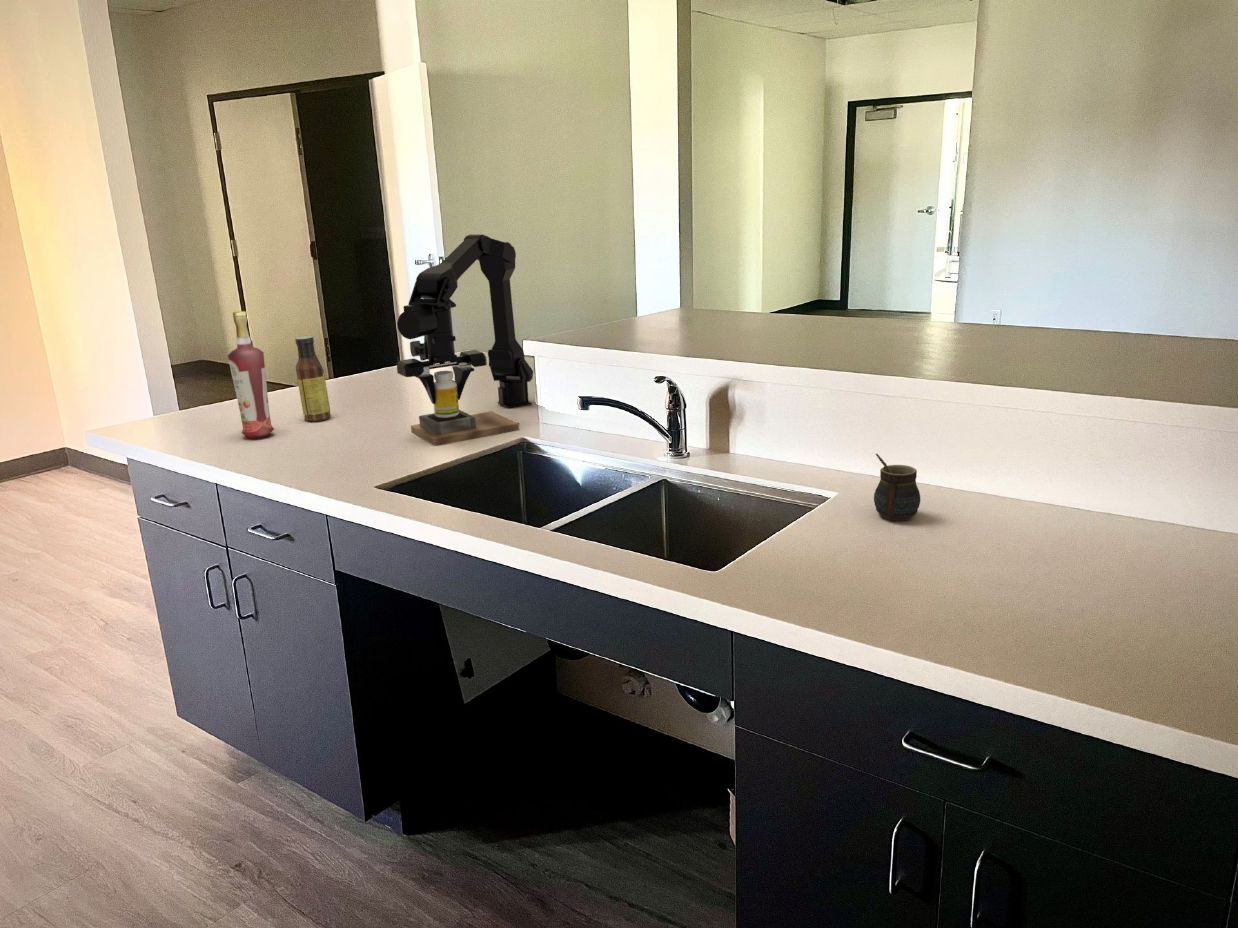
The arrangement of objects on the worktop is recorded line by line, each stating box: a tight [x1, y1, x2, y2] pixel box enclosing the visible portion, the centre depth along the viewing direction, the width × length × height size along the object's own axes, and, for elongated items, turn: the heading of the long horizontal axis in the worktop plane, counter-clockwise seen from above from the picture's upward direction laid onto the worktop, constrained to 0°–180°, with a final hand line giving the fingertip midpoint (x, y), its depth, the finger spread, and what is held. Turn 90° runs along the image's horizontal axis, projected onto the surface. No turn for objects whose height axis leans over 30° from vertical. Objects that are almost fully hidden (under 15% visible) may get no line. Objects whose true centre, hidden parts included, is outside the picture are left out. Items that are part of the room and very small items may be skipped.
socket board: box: [410, 409, 520, 447], centre depth 202 cm, size 20×14×4 cm
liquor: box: [227, 310, 275, 440], centre depth 200 cm, size 7×7×28 cm
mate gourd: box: [873, 453, 921, 522], centre depth 144 cm, size 7×8×10 cm
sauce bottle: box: [294, 335, 331, 422], centre depth 214 cm, size 6×6×20 cm
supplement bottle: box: [433, 370, 460, 418], centre depth 198 cm, size 5×5×10 cm
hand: (445, 401), depth 199 cm, fingers closed on supplement bottle, 5 cm apart
